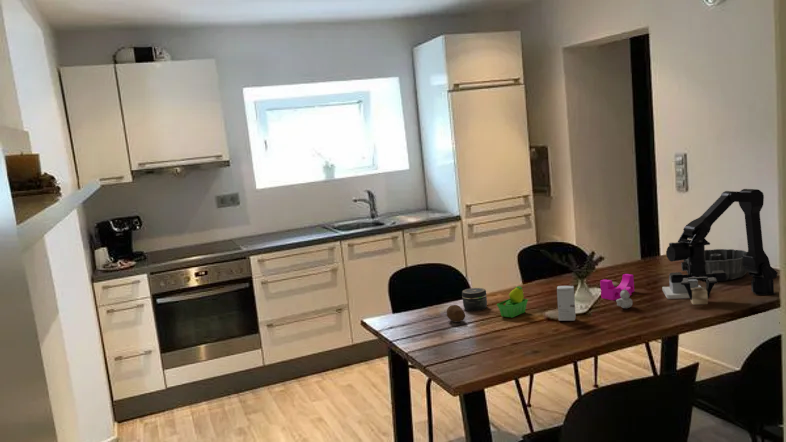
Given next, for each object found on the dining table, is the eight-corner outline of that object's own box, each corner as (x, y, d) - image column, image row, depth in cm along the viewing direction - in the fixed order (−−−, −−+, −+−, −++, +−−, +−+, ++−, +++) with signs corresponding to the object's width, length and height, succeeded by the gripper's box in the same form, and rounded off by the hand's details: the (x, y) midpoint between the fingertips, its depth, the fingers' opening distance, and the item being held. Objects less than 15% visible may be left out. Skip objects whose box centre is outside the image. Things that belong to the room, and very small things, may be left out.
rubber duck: (636, 308, 233) (635, 287, 233) (621, 311, 232) (620, 290, 231) (627, 305, 239) (625, 284, 238) (612, 308, 237) (611, 287, 236)
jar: (492, 306, 259) (490, 288, 258) (478, 312, 252) (476, 294, 251) (472, 304, 266) (471, 286, 265) (458, 310, 258) (456, 292, 258)
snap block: (705, 300, 233) (704, 286, 233) (708, 304, 228) (707, 289, 228) (690, 301, 235) (689, 286, 234) (693, 304, 230) (692, 289, 229)
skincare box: (558, 321, 228) (555, 288, 226) (559, 317, 232) (556, 285, 231) (576, 320, 226) (573, 288, 225) (576, 317, 230) (573, 285, 229)
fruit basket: (513, 309, 250) (511, 282, 249) (532, 311, 244) (530, 283, 243) (496, 316, 242) (494, 288, 241) (515, 319, 236) (513, 290, 235)
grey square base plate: (700, 288, 250) (699, 274, 250) (707, 297, 237) (706, 281, 236) (662, 290, 254) (661, 275, 254) (667, 298, 241) (666, 283, 240)
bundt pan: (677, 283, 264) (675, 260, 263) (688, 270, 285) (687, 248, 284) (748, 285, 248) (747, 260, 247) (755, 271, 270) (754, 248, 269)
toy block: (613, 301, 247) (612, 282, 247) (601, 298, 253) (600, 280, 252) (639, 293, 254) (638, 275, 254) (627, 291, 260) (626, 273, 259)
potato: (454, 325, 237) (452, 309, 237) (442, 320, 246) (441, 304, 246) (469, 321, 240) (468, 305, 239) (457, 316, 249) (455, 301, 248)
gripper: (719, 252, 235) (721, 293, 236) (666, 255, 240) (668, 295, 242) (726, 258, 224) (728, 300, 226) (670, 261, 230) (673, 302, 231)
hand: (699, 299), depth 231 cm, fingers closed on snap block, 5 cm apart
